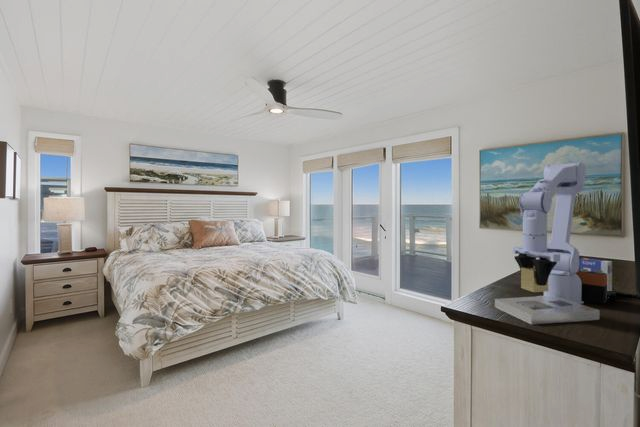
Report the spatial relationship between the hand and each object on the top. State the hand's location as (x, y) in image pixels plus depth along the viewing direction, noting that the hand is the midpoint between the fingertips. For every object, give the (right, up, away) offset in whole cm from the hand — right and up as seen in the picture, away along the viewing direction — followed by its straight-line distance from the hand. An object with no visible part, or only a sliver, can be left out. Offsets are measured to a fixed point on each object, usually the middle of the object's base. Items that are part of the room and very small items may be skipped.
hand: (534, 282), depth 90 cm
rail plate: (+3, -9, +1) cm, 9 cm away
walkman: (+32, -8, +18) cm, 37 cm away
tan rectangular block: (0, -2, 0) cm, 2 cm away
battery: (+25, -8, +11) cm, 28 cm away
